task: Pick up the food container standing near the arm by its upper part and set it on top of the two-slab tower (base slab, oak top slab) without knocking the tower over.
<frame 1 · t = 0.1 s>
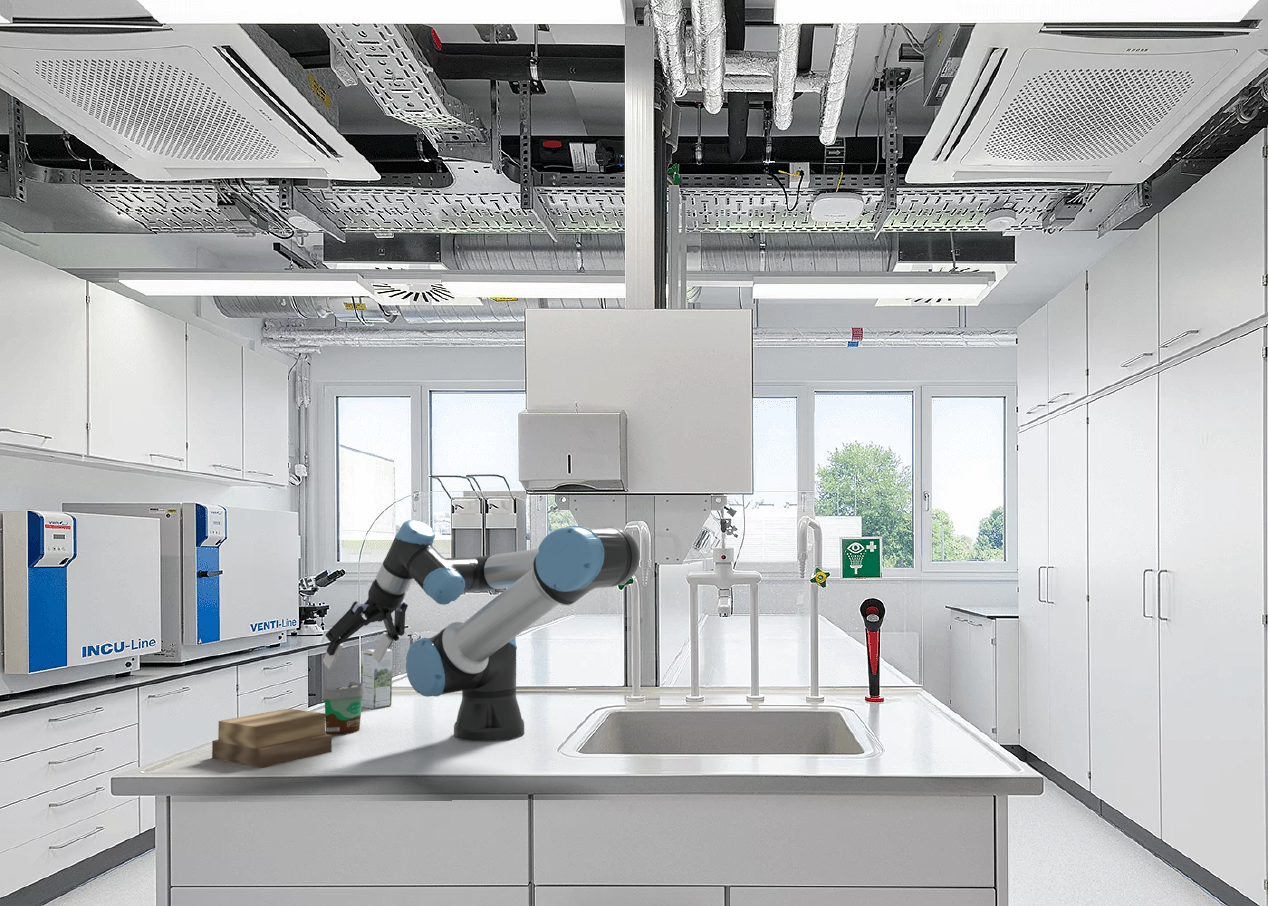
hand: (352, 662, 218), 15 cm above the countertop, fingers open, 13 cm apart
syrup box: (376, 707, 250), on the countertop
tower base: (272, 758, 195), on the countertop, touching tower top
food container: (349, 732, 218), on the countertop
tower top: (272, 737, 195), point 3 cm above the countertop, touching tower base
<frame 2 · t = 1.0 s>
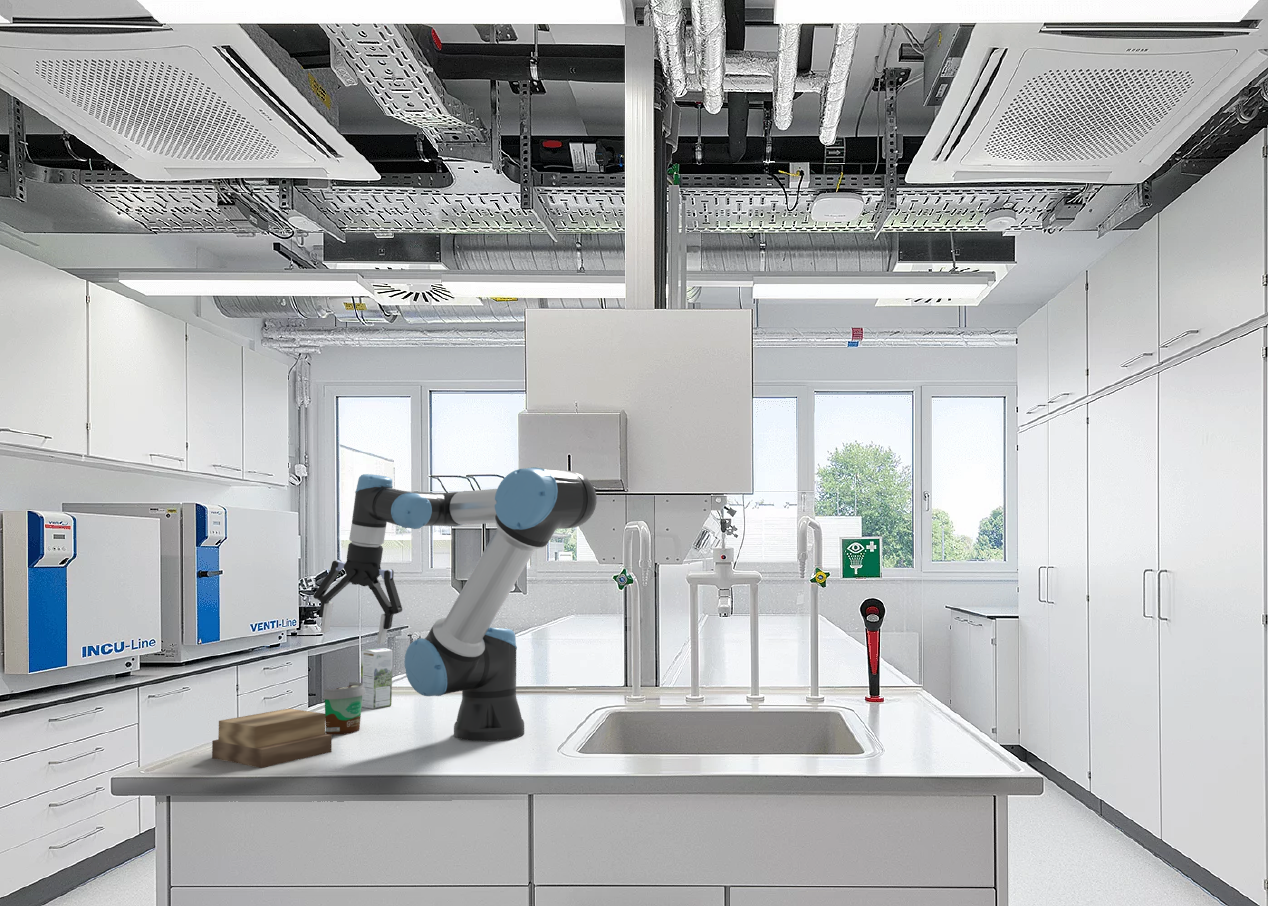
hand: (352, 637, 219), 21 cm above the countertop, fingers open, 13 cm apart
nothing on the countertop moved.
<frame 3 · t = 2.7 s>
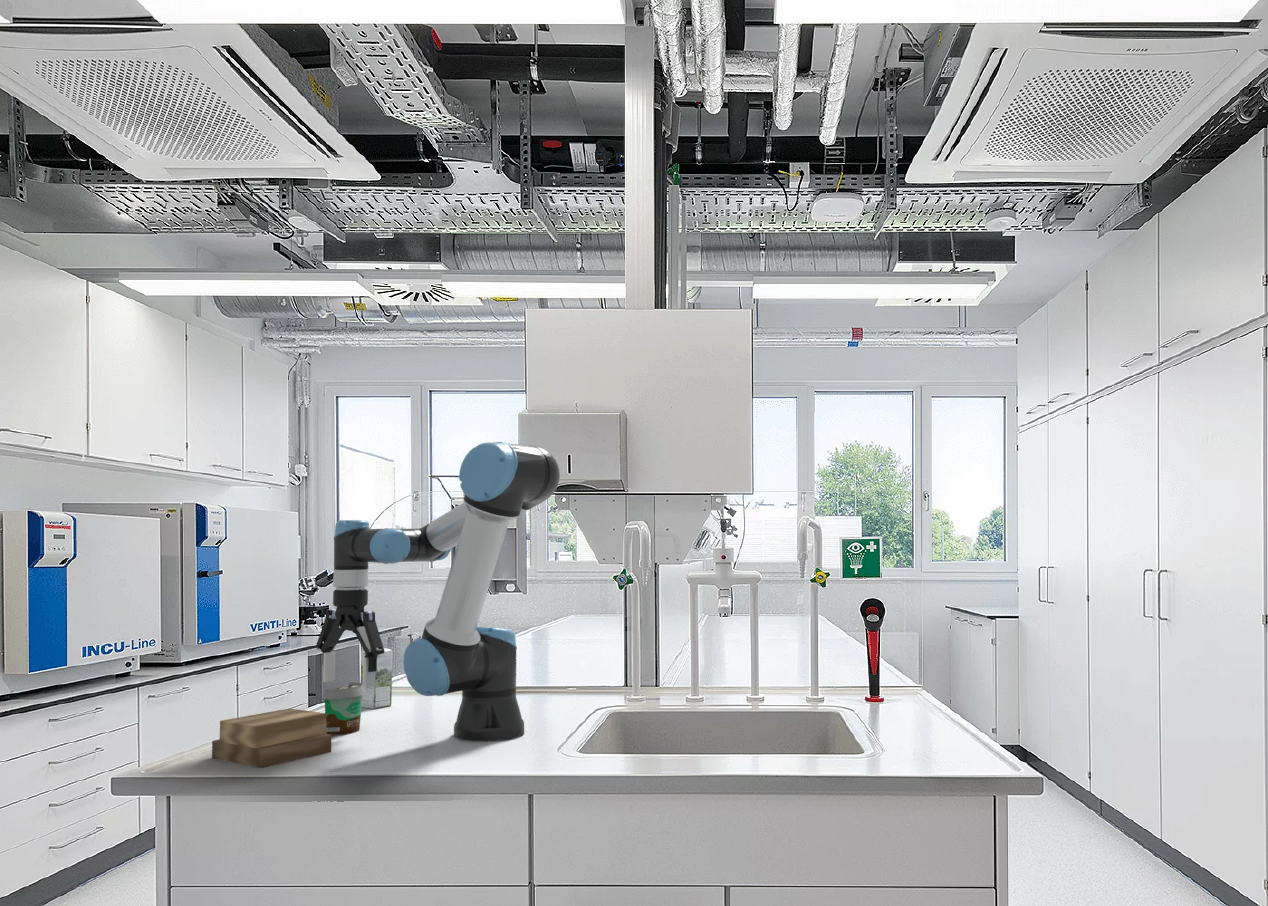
hand: (348, 684, 219), 10 cm above the countertop, fingers open, 13 cm apart
nothing on the countertop moved.
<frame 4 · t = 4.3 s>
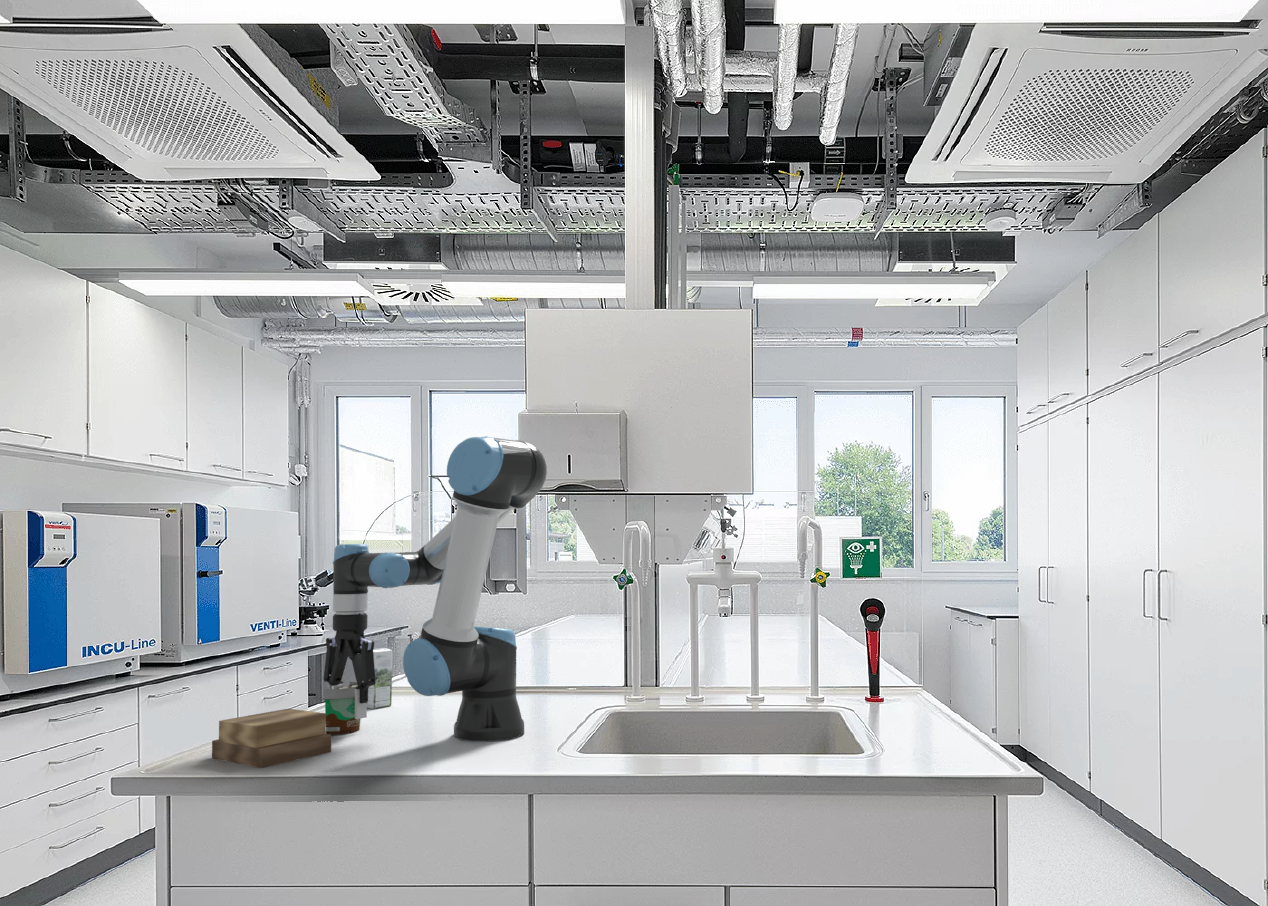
hand: (348, 716, 218), 3 cm above the countertop, fingers closed on food container, 7 cm apart
food container: (349, 732, 218), on the countertop, touching gripper
everything else where it was.
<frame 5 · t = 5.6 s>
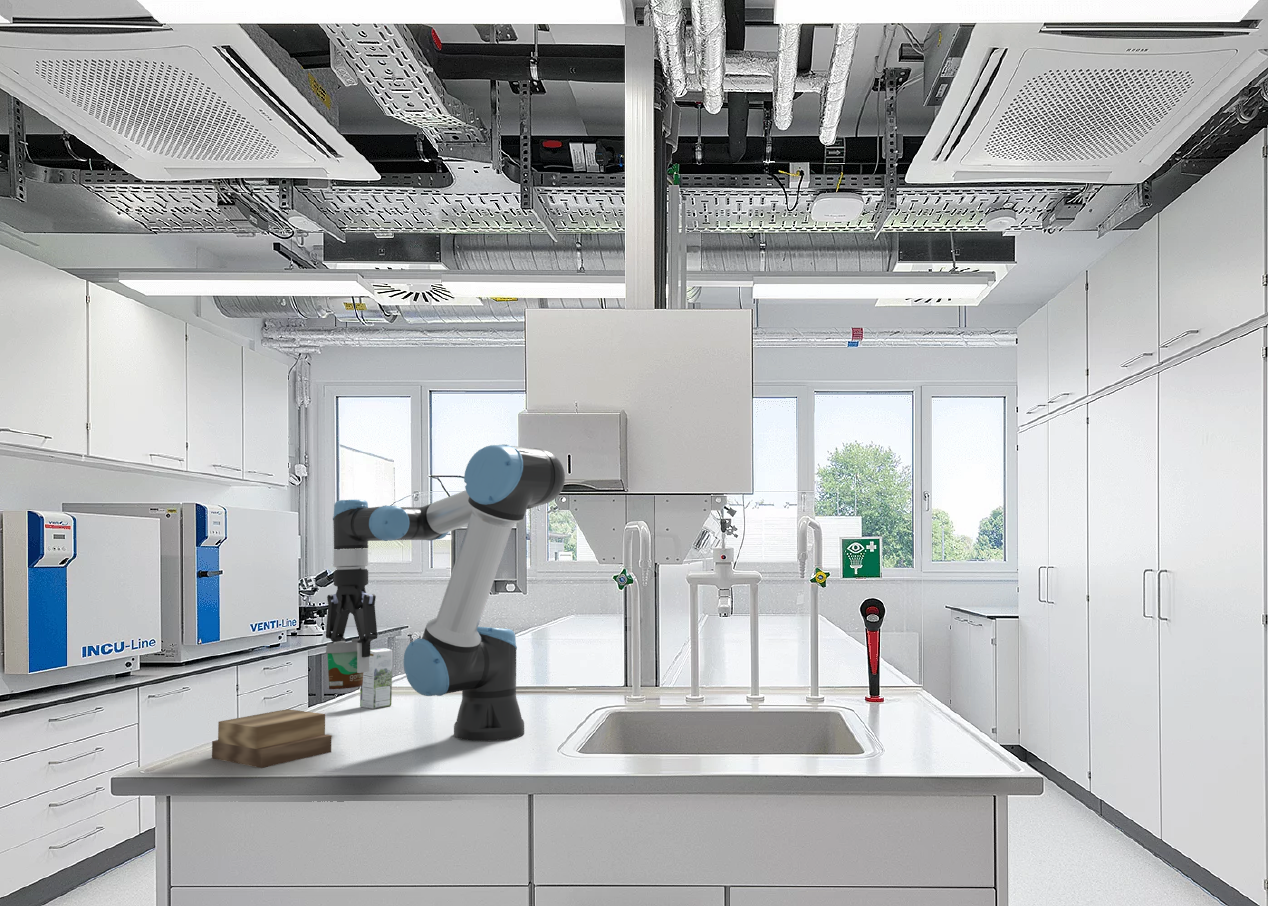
hand: (351, 671, 219), 13 cm above the countertop, fingers closed on food container, 7 cm apart
food container: (352, 687, 218), point 10 cm above the countertop, touching gripper
everything else where it was.
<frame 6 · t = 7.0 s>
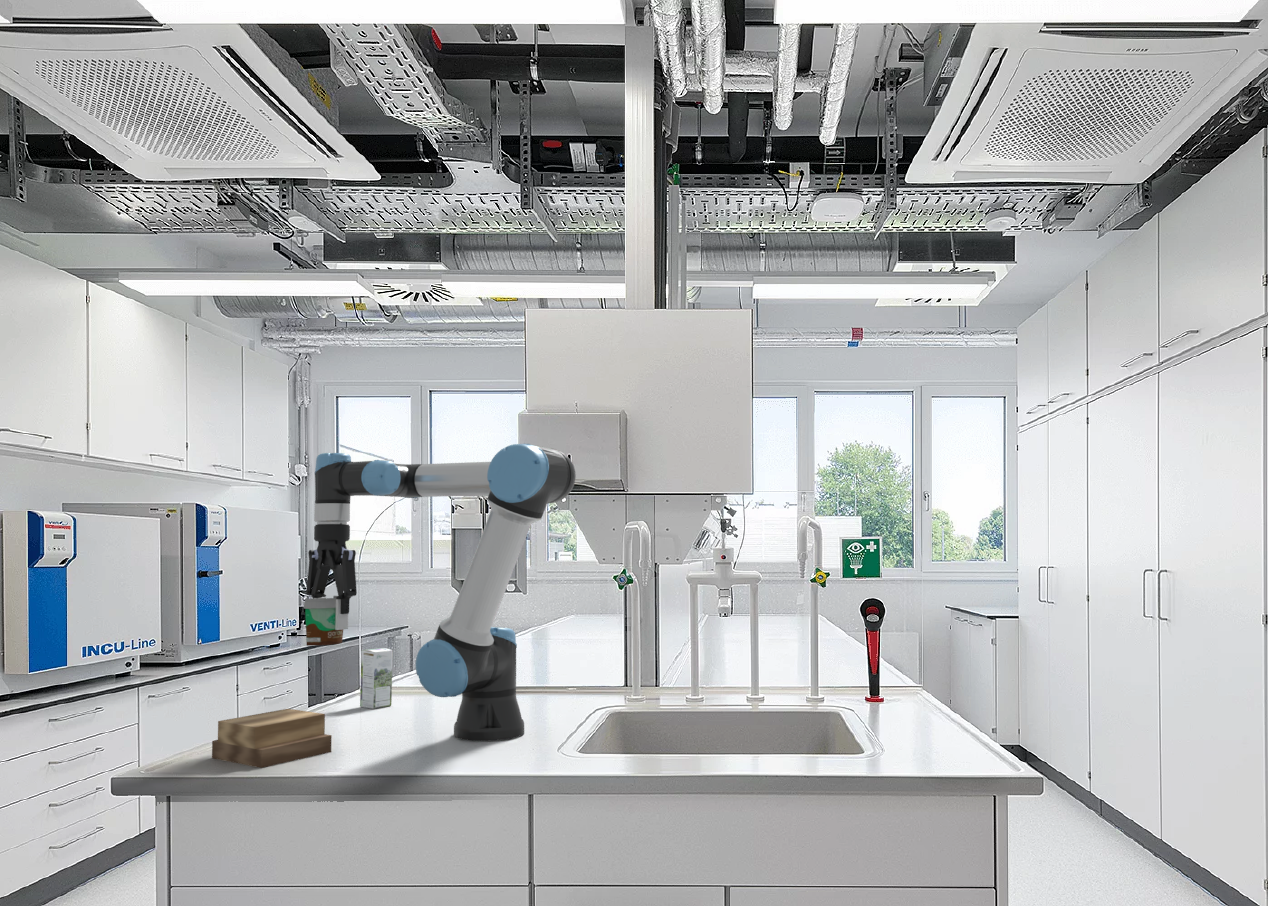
hand: (330, 628, 214), 23 cm above the countertop, fingers closed on food container, 7 cm apart
tower base: (272, 758, 195), on the countertop
food container: (331, 644, 213), point 20 cm above the countertop, touching gripper
tower top: (272, 738, 195), point 3 cm above the countertop
everything else where it was.
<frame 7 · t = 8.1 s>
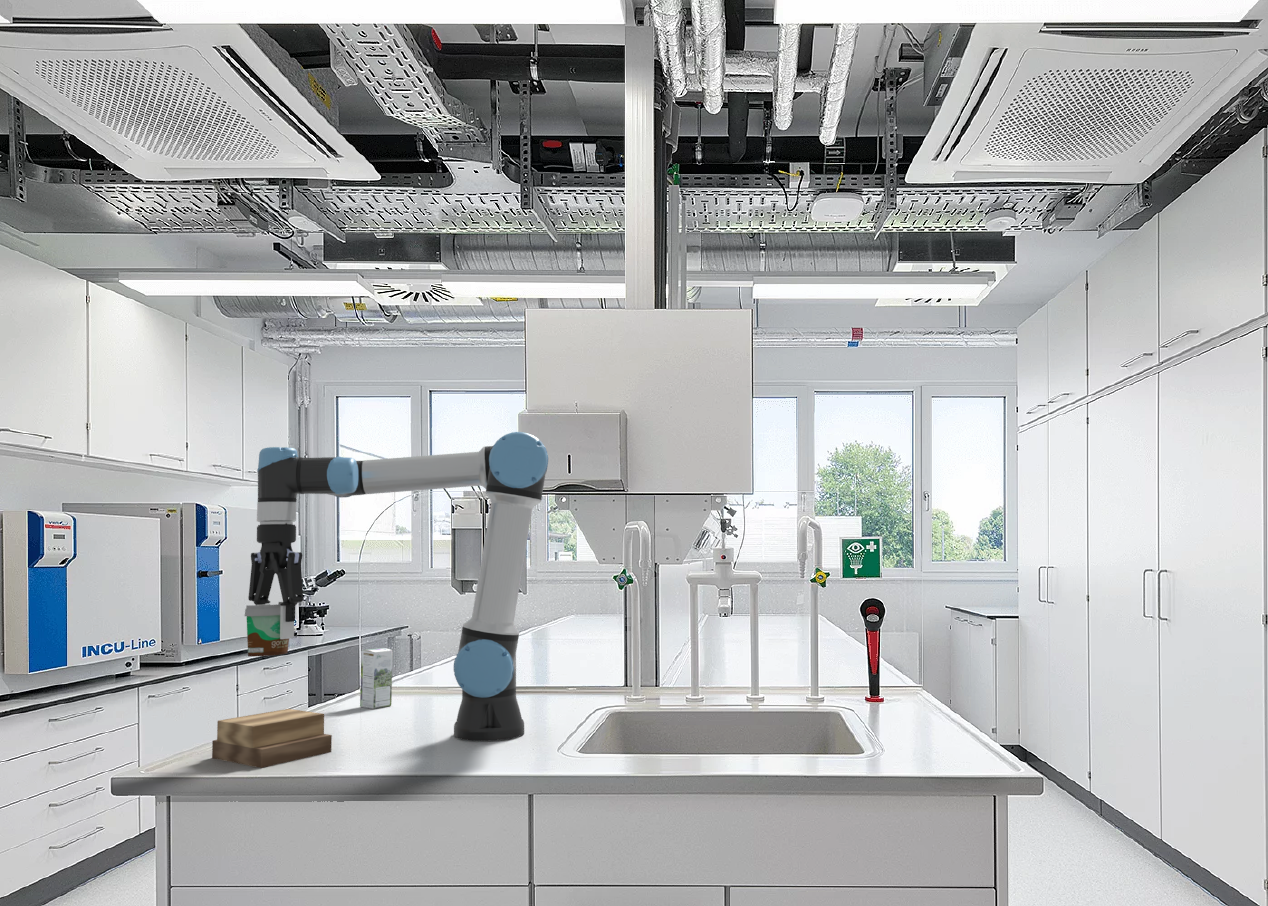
hand: (274, 637, 197), 23 cm above the countertop, fingers closed on food container, 7 cm apart
food container: (275, 654, 197), point 20 cm above the countertop, touching gripper
everything else where it was.
when the fingers open (12 cm above the countertop, at t = 10.9 s): food container drops 2 cm, resting on tower top.
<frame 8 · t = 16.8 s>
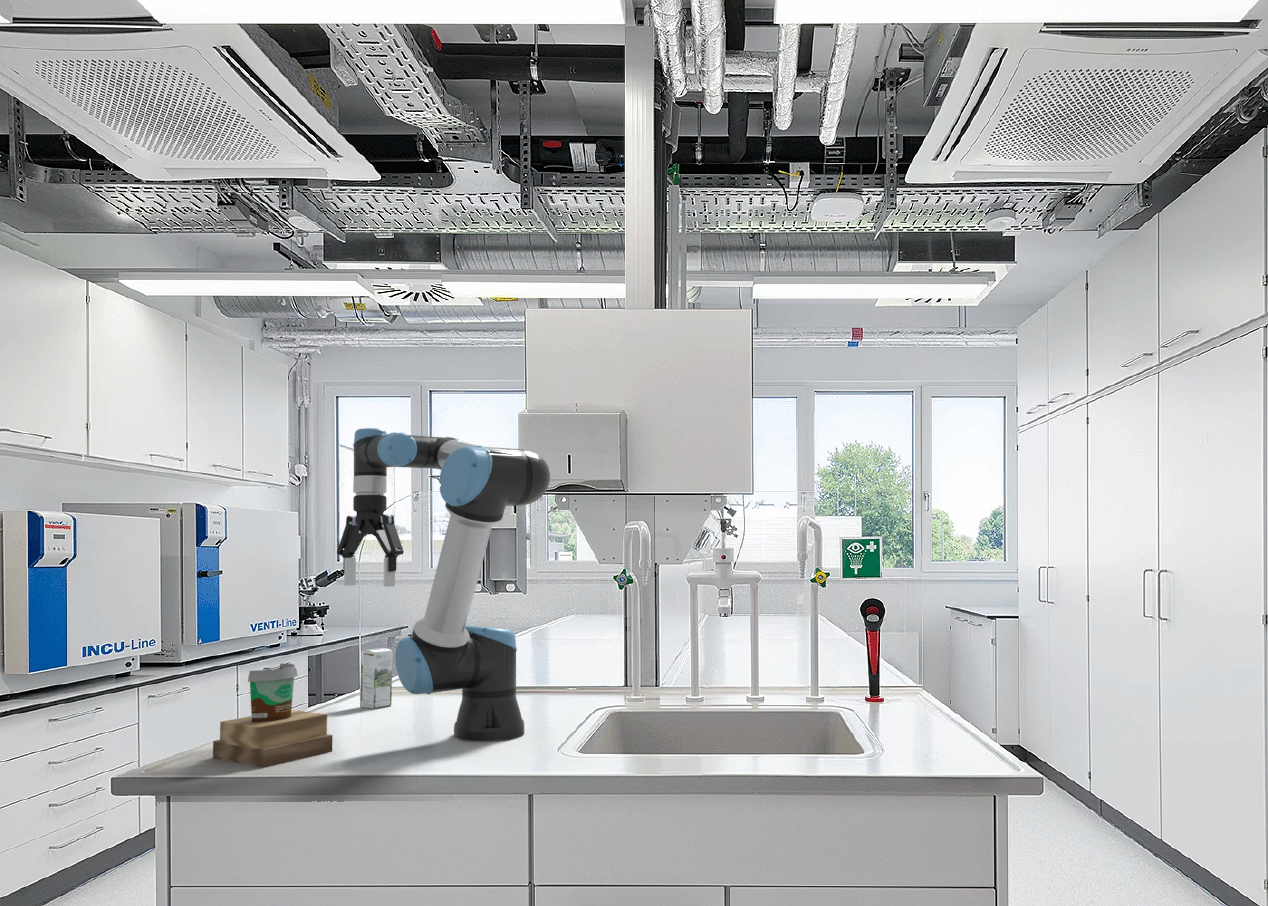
hand: (369, 586, 228), 32 cm above the countertop, fingers open, 13 cm apart
tower base: (273, 758, 195), on the countertop, touching tower top
food container: (279, 718, 195), point 7 cm above the countertop, touching tower top
tower top: (274, 738, 195), point 3 cm above the countertop, touching food container, tower base
everything else where it was.
at the end: food container inside the target area on the tower top (0.9 cm from its centre), point 3.8 cm above the tower top's base; tower top 0.5 cm from the tower base (horizontally); food container tilted 0° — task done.
